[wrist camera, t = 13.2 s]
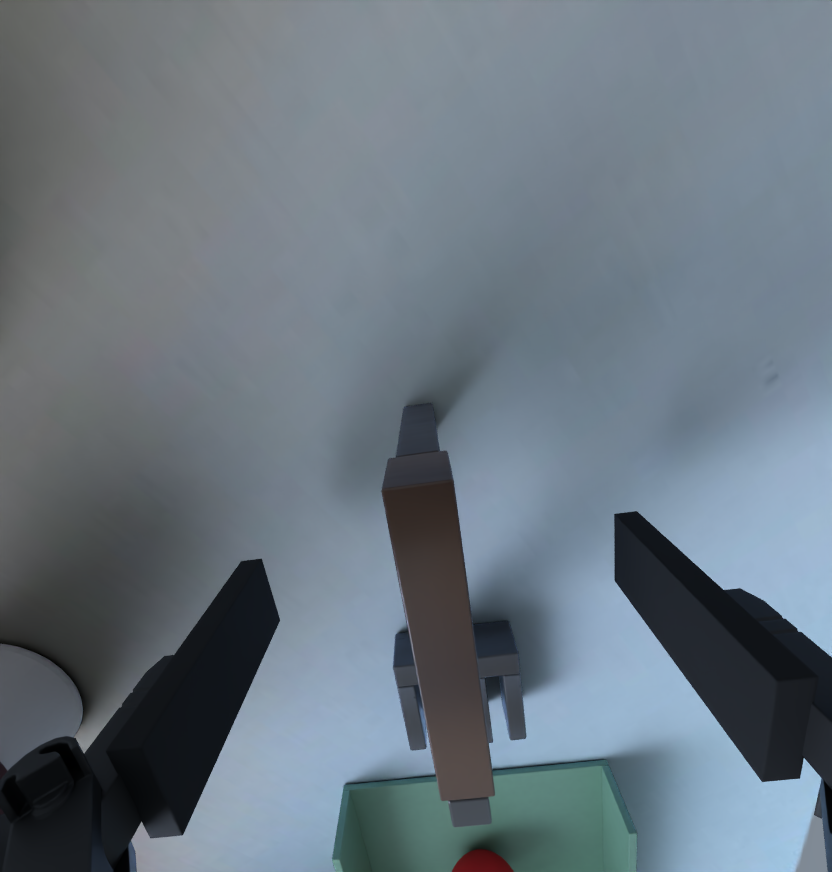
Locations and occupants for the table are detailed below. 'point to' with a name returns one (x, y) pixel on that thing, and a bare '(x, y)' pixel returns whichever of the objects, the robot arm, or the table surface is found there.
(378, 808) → the green dustpan
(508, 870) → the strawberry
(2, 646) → the coffee cup
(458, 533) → the fork
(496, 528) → the table surface
